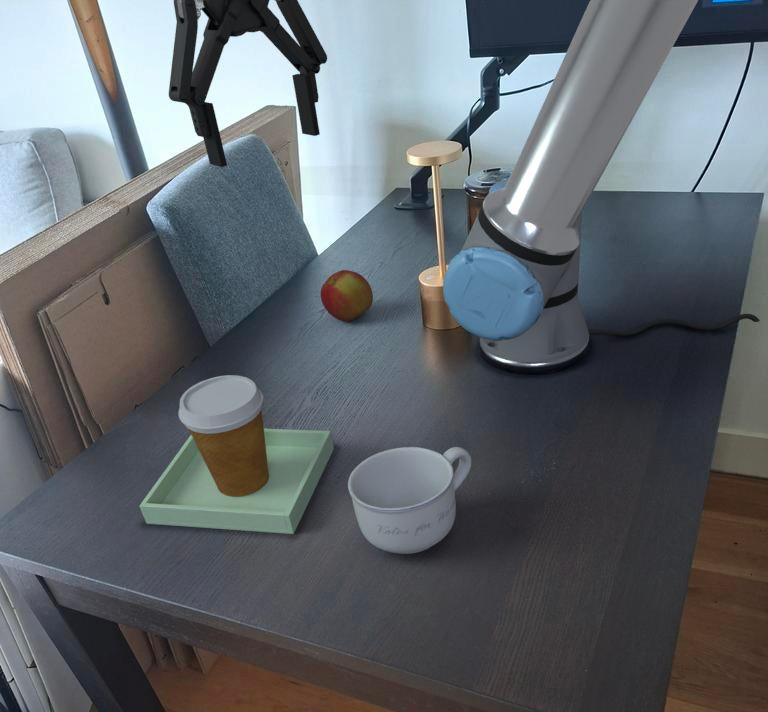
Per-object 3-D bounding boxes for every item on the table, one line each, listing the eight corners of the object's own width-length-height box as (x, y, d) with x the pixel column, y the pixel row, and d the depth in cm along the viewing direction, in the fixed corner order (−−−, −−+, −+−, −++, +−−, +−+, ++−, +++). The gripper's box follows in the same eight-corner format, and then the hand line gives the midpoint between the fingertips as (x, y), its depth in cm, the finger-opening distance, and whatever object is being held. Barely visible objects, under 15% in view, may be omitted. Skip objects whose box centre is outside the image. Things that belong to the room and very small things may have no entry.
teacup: (381, 582, 76) (371, 522, 71) (343, 522, 84) (331, 463, 79) (503, 535, 79) (502, 474, 74) (455, 481, 87) (451, 422, 82)
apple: (339, 307, 127) (331, 260, 122) (382, 311, 124) (376, 263, 119) (317, 327, 122) (308, 280, 117) (362, 332, 119) (355, 283, 114)
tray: (334, 448, 95) (330, 430, 93) (293, 534, 83) (288, 515, 82) (202, 443, 100) (196, 426, 98) (146, 523, 88) (138, 505, 86)
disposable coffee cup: (272, 449, 96) (250, 365, 88) (290, 490, 89) (269, 403, 81) (198, 471, 94) (169, 387, 86) (211, 515, 87) (181, 427, 79)
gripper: (297, -85, 86) (328, 119, 100) (95, -51, 75) (160, 174, 88) (338, -90, 81) (364, 125, 95) (128, -55, 70) (192, 183, 84)
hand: (266, 149), depth 92 cm, fingers open, 13 cm apart
